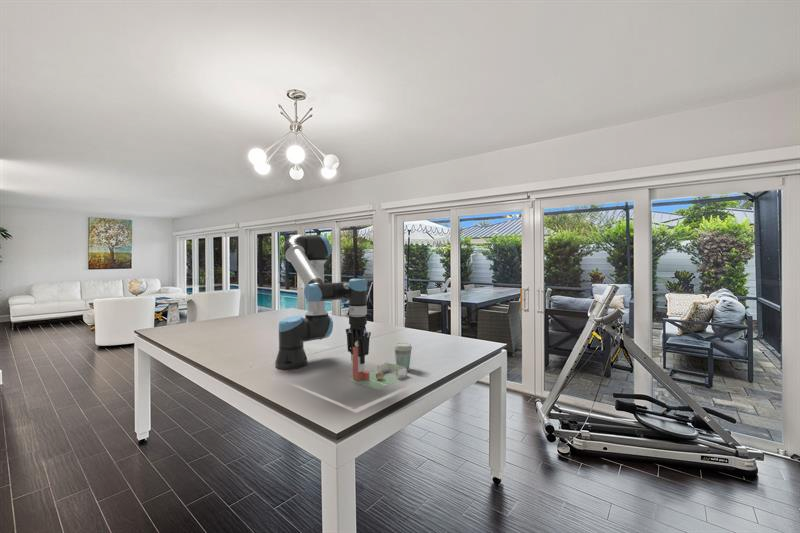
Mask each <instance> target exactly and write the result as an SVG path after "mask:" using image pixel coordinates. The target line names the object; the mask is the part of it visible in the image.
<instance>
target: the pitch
mask: <svg viewBox="0 0 800 533" xmlns="http://www.w3.org/2000/svg"><path fill="white" fill-rule="evenodd" d="M368 372H369V379H368V380H364V379H362V380H359V381H356V380H353V376H352V377H349V378H347V379H346V380H348V381H350V382H353V383H356V384H359V385H361V386H365V387H367V388H370V389H373V390H375V391H377V390H380V389H382V388H385V387H387V386H389V385H392V384H394V383H396V382H399V381H400V379H396V378H394V377H391V376H388V375H385V374H384V377H383V379H381V380H378V379H377V378H376V373H377V372H374V371H372V370H371V371H369V370H368Z"/></svg>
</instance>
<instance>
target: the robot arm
mask: <svg viewBox="0 0 800 533" xmlns="http://www.w3.org/2000/svg"><path fill="white" fill-rule="evenodd" d="M282 248H283V249H282V251H283V252H282V253H283V256H284V257H285V259H286V260H287V261H288V262H289V263H291V265H292V266H293V268H294V270H295V271H296V273H297V275H298V276H299V279H300V280H301V281H302V283H303V284H304V292H303V294H304V298H305V300H306V301H307V312H306V313H305V314H304V315H305V316H302V315H293V316H288V317H284V318H283V319H281V320H280V321H278V322H279V324H278V352H277V355H276V359H275V362H274V365H275V368H277V369H279V370H280V369H281V370H294V369H299V368H302V367H305V366H306V365H307V364H308V357H307V354H306V352H305V348H304V343H305V342H310V341H316V340H317V341H319V340H323V339H328V338H329V337H330V336H331V334H332V333H333V329H334V322H333V321H334V320H333V318H332V317H331V316H330V315H329V312H328V311H327V309H326V302H327V301H340V300H348V314H349V316H348V324H349V325H350V326H349V328H345V333H346V346H347V352H348V353H349V354H350V355H351V357H350V358H351V370H352V371H353V347H354V346H355V342H356V341H358V346H359V355H358V372H361V371H365V363H366V356H368V355H369V351H370V337H371V335H372V334H371V331H368V330H367V327H366V325H367V323H368V321H367V320H368V317H367V314H368V304H367V303H368V302H367V301H368V298H367V296H368V287H367V279H365V278H351V279H349V281H348V282H347V281H339V282H326V283H325V266H324V265H325V263H326V262H327V259H328V258H329V257H330V256H331V253H332V248H331V243H330V241H329V239H328V238H327V237H326V236H324V235H318V234H294V235H292V236H289V237H288V238H287V239H286V241H285V242H284V245H283V247H282Z"/></svg>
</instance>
